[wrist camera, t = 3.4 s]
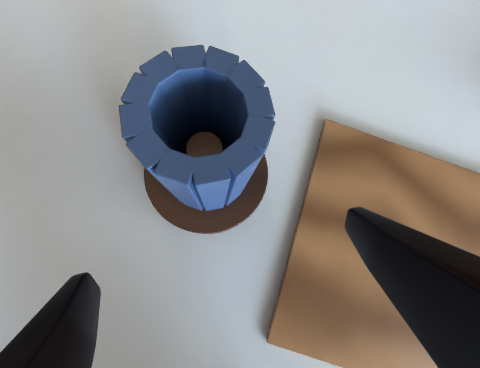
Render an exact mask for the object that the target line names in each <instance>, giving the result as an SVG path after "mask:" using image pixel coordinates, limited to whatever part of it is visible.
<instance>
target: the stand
mask: <svg viewBox="0 0 480 368" xmlns="http://www.w3.org/2000/svg"><path fill="white" fill-rule="evenodd" d="M186 152H187V155H190V156H192V157H200V156H206V155H212V154H219V153H221V152H223V145H222V143H221V141H220V139H219V138H218V137H217V136H216V135H214V134H212V133H210V132H199V133H196V134H195V135H193V136H192V137H191V138H190V139H189V140H188V142H187V146H186ZM267 180H268V167H267V162H266V158H265V155H263V157H262V158H261V160H260V162H259V163H258V165H257V167H256V169H255V170H254V172H253V174H252V176H251V177H250V179H249V181H248V182H247V184H246V186H245V188H244V189H243V191H242V192H241V194H240V195H239V196H238V197H237V198H236V199H235V200H233V201H232V202H231V203H230V204H229V205H228V206H226V205H225V204H224V207H223V208H219V209H214V210H209V211H206V210H205V208H204V207H203V210H202V211H201V210H198V209H195V208H192V207H189V206H186V205H185V204H184V203H183V202H180V201H179V200H178V199H177V198H176V197H175V196H174V195H173V194H172V193H171V192H170V191H169V190H168V189H167V188H166V187H164V186H163V185H162V184H161V183H160V182H159V181H158V180H157V179H156V178H155V177H154V176H153V175H152V174H151V173H150V172H149V171H148V170H147V169H146V168H144V181H145V187H146V191H147V193H148V196H149V199H150V200H151V202H152V204H153V206H154V207H155V208H156V210H157V211H158V212H159V213H160V214H161V215H162V216H163V217H164V218H165V219H166V220H167V221H169V222H170V223H172V224H173V225H175V226H177V227H179V228H181V229H184V230H187V231H190V232H195V233H202V234H213V233H220V232H223V231H226V230H229V229H231V228H233V227H235V226H237V225H238V224H240V223H242V222H243V221H244V220H246V219H247V218H248V217H249V216H250V215H251V214H252V213H253V212H254V211H255V209H256V208H257V207H258V205H259V204H260V202H261V200H262V198H263V196H264V193H265V190H266V186H267Z"/></svg>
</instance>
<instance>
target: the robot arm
mask: <svg viewBox="0 0 480 368" xmlns="http://www.w3.org/2000/svg"><path fill="white" fill-rule="evenodd" d="M345 230H346V232H347V234H348V236H349V237H350V239H351V241H352V243H353V244H354V246H355V248H356V250H357V252H358V253H359V255H360V257H361V259H362V260H363V262H364V264H365V265H366V267H367V268H368V270H369V271H370V273H371V274H372V276H373V277H374V278H375V280H376V281H377V283H378V284H379V285H380V287H381V288H382V290H383V291H384V292H385V294H386V295H387V297H388V298H389V300H390V301H391V302H392V304H393V305H394V307H395V308H396V309H397V311H398V312H399V314H400V315H401V316H402V318H403V319H404V321H405V322H406V323H407V325H408V326H409V328H410V329H411V330H412V332H413V333H414V335H415V336H416V338H417V339H418V340H419V342H420V343H421V345H422V346H423V347H424V349H425V350H426V352H427V353H428V354H429V356H430V357H431V359H432V360H433V361H434V363H435V364H436V366H437V367H438V368H480V256H478V255H475V254H473V253H470V252H468V251H466V250H463V249H461V248H458V247H456V246H454V245H451V244H449V243H447V242H444V241H442V240H439V239H437V238H435V237H432V236H430V235H427V234H425V233H423V232H420V231H418V230H415V229H413V228H411V227H408V226H406V225H403V224H401V223H399V222H396V221H394V220H392V219H389V218H387V217H384V216H382V215H380V214H377V213H375V212H372V211H370V210H368V209H365V208H363V207H360V206H358V207H353V208H350V209H348V211H347V215H346V220H345ZM100 296H101V291H100V287H99V286H98V284H97V283H96V282H95V280H94V279H93V277H92V276H91V275H90V274H89V273H81V274H77V275H74V276H72V277H71V278H70V279H69V280H68V281H67V282H66V283H65V284H64V285H63V286H62V287H61V288H60V290H59V291H58V292H57V293H56V294H55V295H54V296H53V297H52V298H51V299H50V300H49V301H48V302H47V303H46V304H45V306H44V307H43V308H42V309H41V310H40V311H39V312H38V313H37V314H36V315H35V316H34V317H33V318H32V319H31V320H30V322H29V323H28V324H27V325H26V326H25V327H24V328H23V329H22V330H21V331H20V332H19V333H18V334H17V335H16V336H15V338H14V339H13V340H12V341H11V342H10V343H9V344H8V345H7V346H6V347H5V348H4V349H3V350H2V351H1V352H0V368H91V367H92V362H93V357H94V352H95V346H96V339H97V330H98V318H99V307H100Z"/></svg>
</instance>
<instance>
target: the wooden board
mask: <svg viewBox="0 0 480 368" xmlns="http://www.w3.org/2000/svg"><path fill="white" fill-rule="evenodd" d="M358 206H360V207H363V208H365V209H368V210H370V211H372V212H375V213H377V214H380V215H382V216H384V217H387V218H389V219H392V220H394V221H396V222H399V223H401V224H403V225H406V226H408V227H411V228H413V229H415V230H418V231H420V232H423V233H425V234H427V235H430V236H432V237H435V238H437V239H439V240H442V241H444V242H447V243H449V244H451V245H454V246H456V247H458V248H461V249H463V250H466V251H468V252H470V253H473V254H475V255H478V256H480V174H479V173H476V172H474V171H471V170H468V169H465V168H462V167H459V166H457V165H454V164H451V163H448V162H445V161H443V160H440V159H437V158H434V157H431V156H429V155H426V154H423V153H420V152H417V151H415V150H412V149H409V148H406V147H403V146H400V145H398V144H395V143H392V142H389V141H386V140H384V139H381V138H378V137H375V136H372V135H370V134H367V133H364V132H361V131H358V130H355V129H353V128H350V127H347V126H344V125H341V124H339V123H336V122H333V121H330V120H327V119H326V120H325V122H324V126H323V129H322V133H321V137H320V141H319V144H318V148H317V152H316V156H315V159H314V163H313V167H312V171H311V174H310V178H309V182H308V186H307V189H306V193H305V197H304V201H303V204H302V208H301V212H300V216H299V220H298V223H297V227H296V231H295V235H294V238H293V242H292V246H291V250H290V253H289V257H288V261H287V265H286V268H285V272H284V276H283V280H282V283H281V287H280V291H279V295H278V299H277V302H276V306H275V310H274V314H273V317H272V321H271V325H270V329H269V332H268V336H267V340H266V341H267V343H269V344H273V345H276V346H279V347H282V348H285V349H288V350H291V351H294V352H297V353H300V354H303V355H306V356H309V357H312V358H315V359H318V360H321V361H324V362H327V363H330V364H333V365H336V366H339V367H342V368H438V367H437V366H436V364H435V363H434V361H433V360H432V359H431V357H430V356H429V354H428V353H427V352H426V350H425V349H424V347H423V346H422V345H421V343H420V342H419V340H418V339H417V338H416V336H415V335H414V333H413V332H412V330H411V329H410V328H409V326H408V325H407V323H406V322H405V321H404V319H403V318H402V316H401V315H400V314H399V312H398V311H397V309H396V308H395V307H394V305H393V304H392V302H391V301H390V300H389V298H388V297H387V295H386V294H385V292H384V291H383V290H382V288H381V287H380V285H379V284H378V283H377V281H376V280H375V278H374V277H373V276H372V274H371V273H370V271H369V270H368V268H367V267H366V265H365V264H364V262H363V260H362V259H361V257H360V255H359V253H358V252H357V250H356V248H355V246H354V244H353V243H352V241H351V239H350V237H349V236H348V234H347V232H346V230H345V220H346V215H347V211H348V209H350V208H353V207H358Z"/></svg>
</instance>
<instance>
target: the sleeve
mask: <svg viewBox="0 0 480 368" xmlns="http://www.w3.org/2000/svg"><path fill="white" fill-rule="evenodd" d="M171 51H172V56H173V58H172V57H171V56H170V54H169V53H168V52H167V51H163V52H162V53H160V54H159V55H157V56H156V57H154V58H152V59H151V60H149V61H148V62H146V63H144V64H143V65H141V66H140V67H139V68H140V71H141V73H142V74H139V73H136V72H135V73H134V74H133V76H132V78H131V80H130V82H129V84H128V86H127V88H126V90H125V91H124V93H123V95H122V97H121V101H122V102H123V104H124V105H119V113H120V122H121V131H122V137H123V139H124V140H125V141H126V142H127V143H126V146H127V147H128V148H129V149H130V150H131V152H132V153H133V154H134V155H135V156H136V158H137V159H138V160H139V161H140V162H141V163H142V165H143V166H144V167H145V168H146V169H147V170H148V171H149V172H150V173H151V174H152V175H153V176H154V177H155V178H156V179H157V180H158V181H159V182H160V183H161V184H162V185H163V186H164V187H166V188H167V189H168V190H169V191H170V192H171V193H172V194H173V195H174V196H175V197H176V198H177V199H178V200H179V201H180V202H183V203H184V204H185V205H186V206H189V207H192V208H195V209H198V210H201V211H202V210H203V207H204V208H205V210H206V211H209V210H214V209H219V208H223V207H224V204H225V205H226V206H228V205H229V204H230V203H231V202H232V201H233V200H235V199H236V198H237V197H238V196H239V195H240V194H241V192H242V191H243V189H244V188H245V186H246V184H247V182H248V181H249V179H250V177H251V176H252V174H253V172H254V170H255V169H256V167H257V165H258V163H259V162H260V160H261V158H262V157H263V155H264V153H265V151H266V150H267V147H268V143H269V140H270V137H271V134H272V131H273V128H274V125H275V121H273V119H274V117H275V112H274V108H273V104H272V100H271V96H270V92H269V89H268V87H264V84H265V81H264V80H263V79H262V78H261V76H260V75H259V74H258V73H257V72H256V71H255V70H254V69H253V68H252V67H251V66H250V65H249V64H248V63H247V62H246V61H245V60H243V61H241V62H240V63H239V56H237V55H234V54H232V53H229V52H226V51H223V50H220V49H218V48H215V47H212V46H209V48H208V50H207V52H206V54H205V49H204V46H203V45H197V46H187V47H176V48H172V49H171ZM238 63H239V64H238ZM199 132H210V133H212V134H214V135H216V136H217V137H218V138H219V139H220V141H221V143H222V145H223V152H221V153H219V154H212V155H206V156H200V157H192V156H190V155H187V152H186V146H187V142H188V140H189V139H190V138H191V137H192V136H193V135H195V134H196V133H199Z"/></svg>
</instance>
